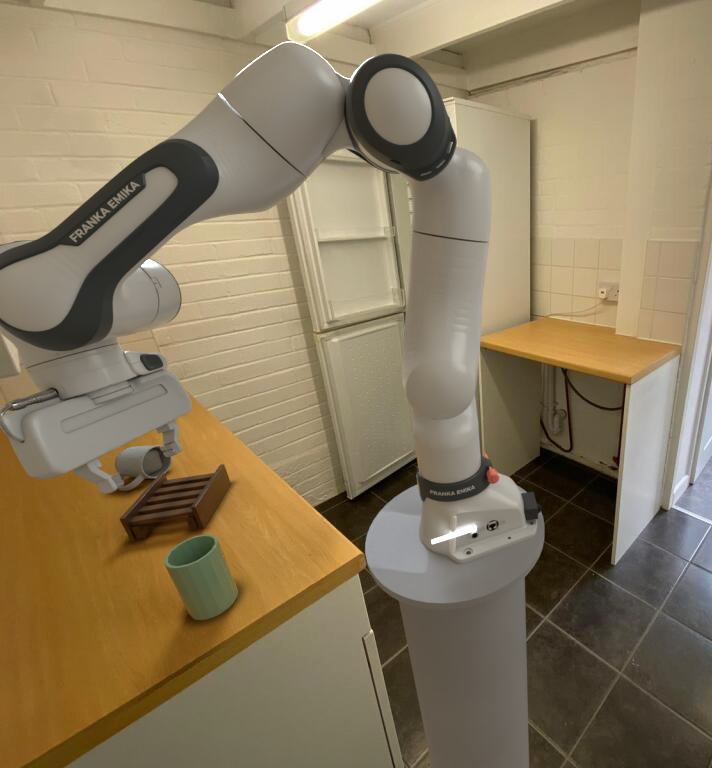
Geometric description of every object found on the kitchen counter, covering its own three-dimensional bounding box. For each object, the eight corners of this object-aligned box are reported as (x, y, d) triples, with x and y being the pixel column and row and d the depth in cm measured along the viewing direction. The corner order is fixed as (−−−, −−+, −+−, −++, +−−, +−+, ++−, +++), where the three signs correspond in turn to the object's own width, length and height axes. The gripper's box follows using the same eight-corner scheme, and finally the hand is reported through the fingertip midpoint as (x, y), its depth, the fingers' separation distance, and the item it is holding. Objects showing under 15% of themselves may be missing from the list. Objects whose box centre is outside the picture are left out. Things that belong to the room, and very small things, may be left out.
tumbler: (243, 580, 71) (224, 530, 67) (229, 614, 65) (207, 562, 61) (200, 589, 70) (177, 539, 65) (182, 624, 64) (155, 572, 59)
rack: (231, 483, 96) (224, 463, 94) (204, 528, 83) (195, 506, 81) (169, 493, 94) (160, 473, 91) (130, 541, 80) (119, 519, 78)
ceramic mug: (147, 464, 104) (134, 438, 101) (177, 465, 104) (165, 439, 100) (106, 492, 95) (90, 464, 92) (138, 493, 94) (124, 465, 91)
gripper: (12, 399, 42) (91, 511, 46) (173, 351, 62) (219, 433, 66) (-37, 415, 43) (44, 523, 47) (137, 362, 63) (184, 443, 67)
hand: (147, 470), depth 57 cm, fingers open, 8 cm apart
